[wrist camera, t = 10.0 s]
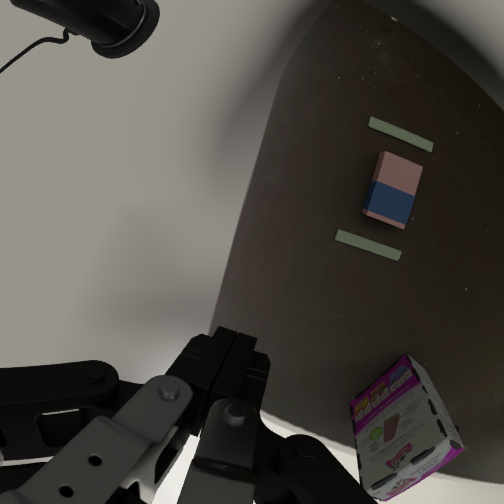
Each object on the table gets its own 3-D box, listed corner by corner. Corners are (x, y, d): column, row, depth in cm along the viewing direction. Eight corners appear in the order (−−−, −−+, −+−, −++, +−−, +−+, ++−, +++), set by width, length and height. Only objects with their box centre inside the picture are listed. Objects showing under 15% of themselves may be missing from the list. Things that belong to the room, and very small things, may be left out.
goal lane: (334, 239, 32) (334, 239, 32) (370, 117, 28) (370, 116, 28) (397, 260, 32) (398, 261, 31) (432, 143, 28) (433, 143, 27)
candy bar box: (370, 415, 37) (384, 503, 21) (348, 402, 37) (357, 495, 21) (426, 367, 34) (467, 450, 18) (406, 350, 34) (447, 438, 18)
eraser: (361, 212, 31) (365, 214, 29) (379, 152, 29) (385, 150, 27) (397, 226, 31) (404, 229, 28) (415, 167, 29) (423, 167, 26)
